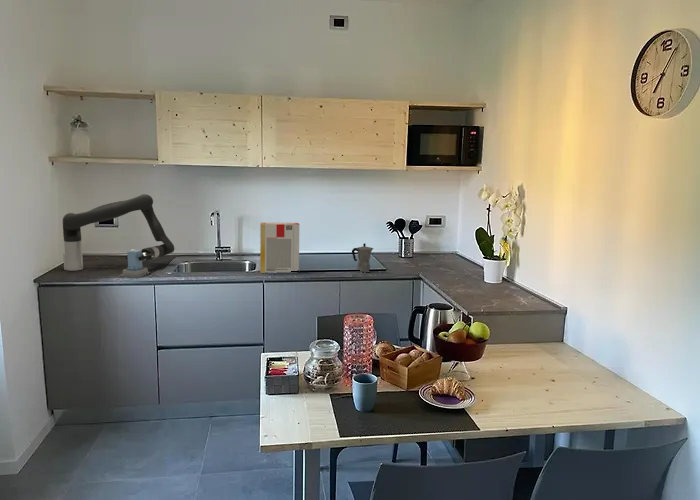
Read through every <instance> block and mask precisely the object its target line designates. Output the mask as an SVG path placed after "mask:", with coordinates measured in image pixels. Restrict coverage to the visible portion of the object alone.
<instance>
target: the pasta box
mask: <svg viewBox="0 0 700 500" xmlns="http://www.w3.org/2000/svg"><path fill="white" fill-rule="evenodd" d="M259 226H260V237H259V238H260V247H259V248H260V250H259V251H260V254H259V255H260V256H259V257H260V261H259V262H260V263H259V265H260V266H259V267H260V268H259V269H260V271H259V272H261V273H265V272H291V271H297V270H299V271H300V223H299V222H260V225H259ZM261 273H260V274H261Z"/></svg>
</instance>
